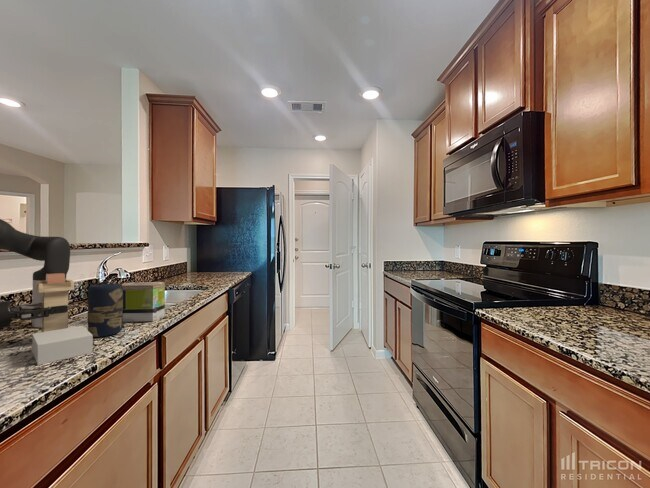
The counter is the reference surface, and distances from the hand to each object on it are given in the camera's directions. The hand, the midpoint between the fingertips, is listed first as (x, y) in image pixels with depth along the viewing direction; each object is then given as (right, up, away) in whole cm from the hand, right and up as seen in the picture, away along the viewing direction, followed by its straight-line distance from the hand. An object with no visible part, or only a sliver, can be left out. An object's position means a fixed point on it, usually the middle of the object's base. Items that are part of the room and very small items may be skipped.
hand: (65, 307), depth 93 cm
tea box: (+9, -11, +24) cm, 28 cm away
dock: (+10, -10, -12) cm, 18 cm away
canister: (+10, -10, +4) cm, 15 cm away
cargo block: (-1, +7, -2) cm, 7 cm away
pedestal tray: (-2, -7, -2) cm, 7 cm away
